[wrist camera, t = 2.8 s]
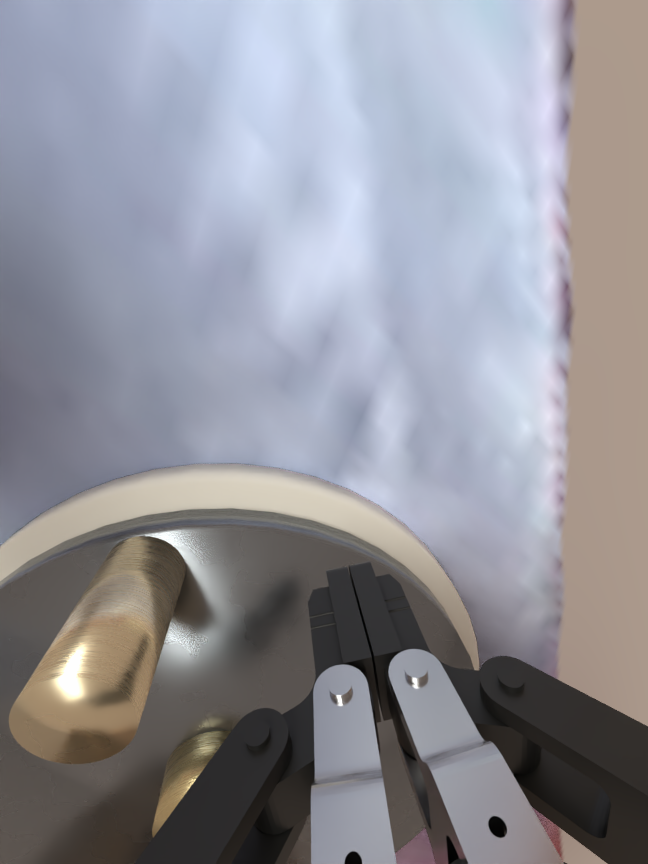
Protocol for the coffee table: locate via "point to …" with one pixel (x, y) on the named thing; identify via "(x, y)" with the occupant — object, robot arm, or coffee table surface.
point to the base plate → (239, 491)
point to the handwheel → (166, 671)
